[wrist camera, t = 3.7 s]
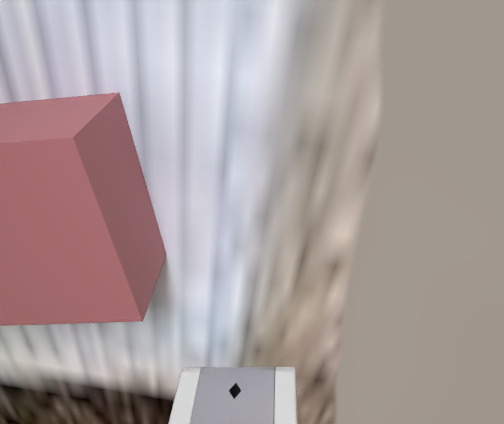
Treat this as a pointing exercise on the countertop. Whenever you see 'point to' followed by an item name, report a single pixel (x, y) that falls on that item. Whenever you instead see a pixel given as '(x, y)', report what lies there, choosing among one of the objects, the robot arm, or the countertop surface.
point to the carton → (74, 214)
